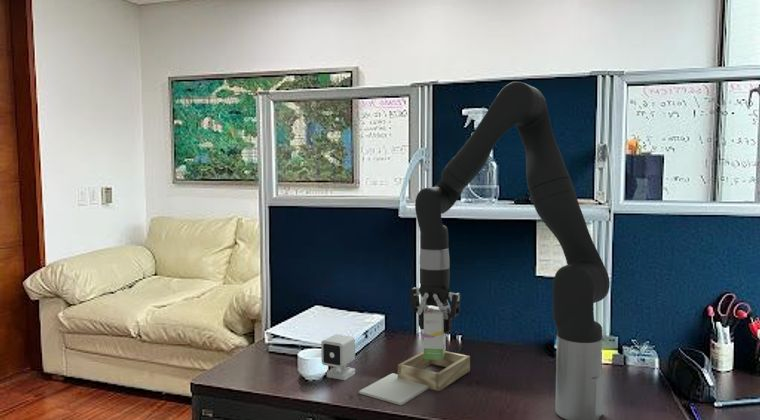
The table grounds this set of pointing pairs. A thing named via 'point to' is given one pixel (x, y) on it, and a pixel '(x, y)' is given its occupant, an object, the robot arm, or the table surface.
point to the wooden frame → (436, 381)
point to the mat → (394, 389)
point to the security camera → (338, 355)
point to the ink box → (434, 333)
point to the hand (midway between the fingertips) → (434, 330)
